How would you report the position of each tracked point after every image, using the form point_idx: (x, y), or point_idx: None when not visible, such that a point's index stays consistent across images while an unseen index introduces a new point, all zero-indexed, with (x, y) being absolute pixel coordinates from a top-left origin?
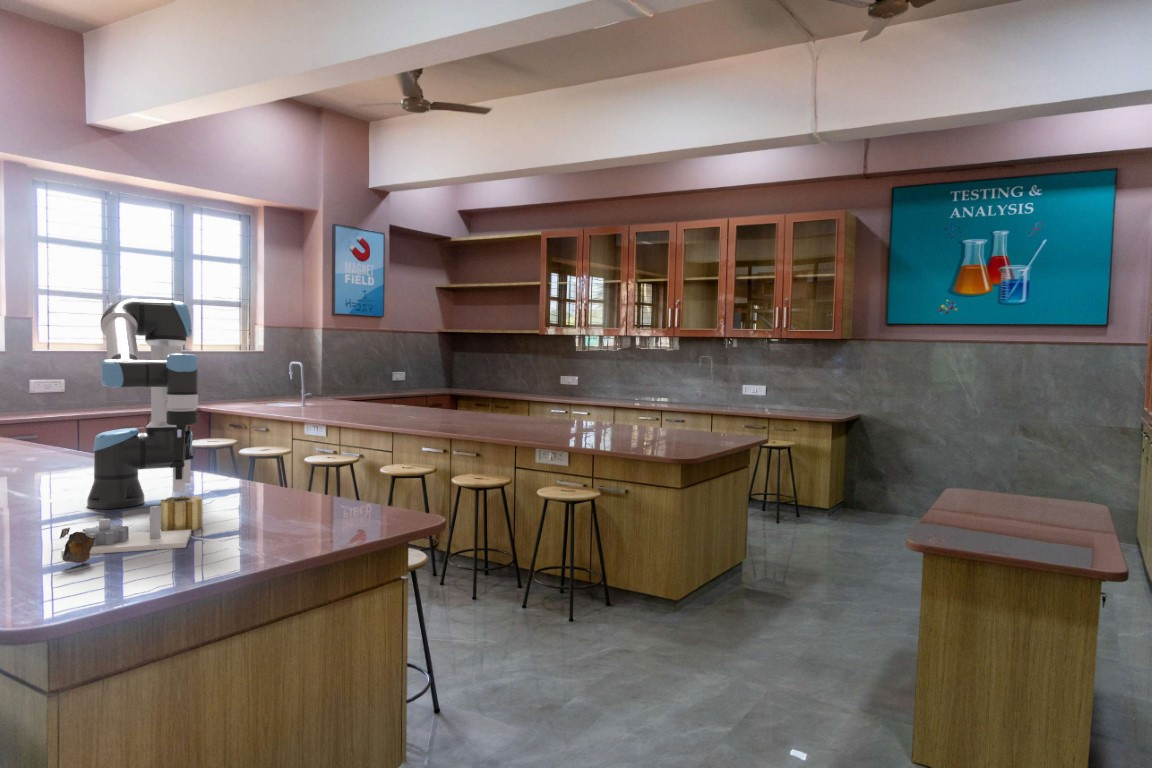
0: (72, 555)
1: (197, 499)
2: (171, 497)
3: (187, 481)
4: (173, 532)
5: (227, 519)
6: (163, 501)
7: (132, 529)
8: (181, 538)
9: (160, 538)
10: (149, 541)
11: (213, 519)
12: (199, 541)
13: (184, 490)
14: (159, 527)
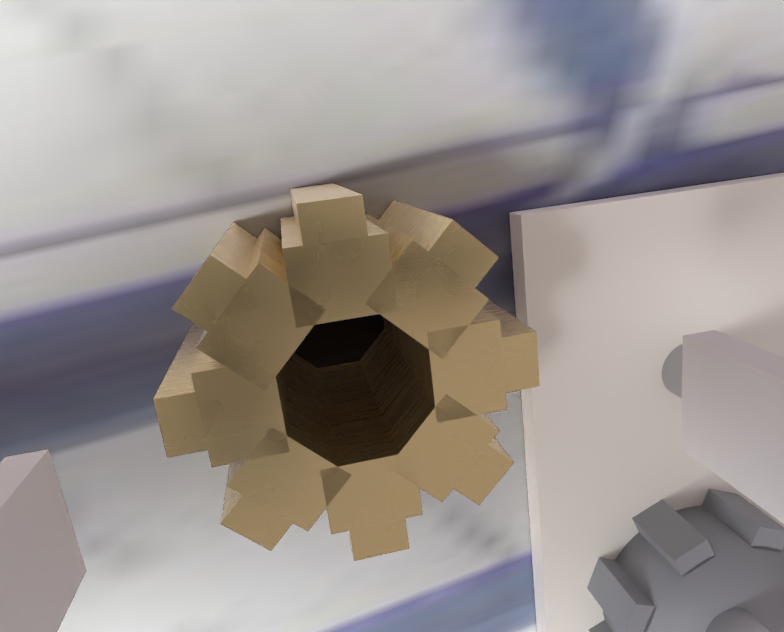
0: None
1: (382, 236)
2: (245, 516)
3: (48, 493)
4: (578, 306)
5: (41, 28)
6: (403, 525)
7: (325, 586)
8: (741, 216)
9: None
10: None
11: (39, 152)
12: (708, 115)
13: (719, 335)
14: None
